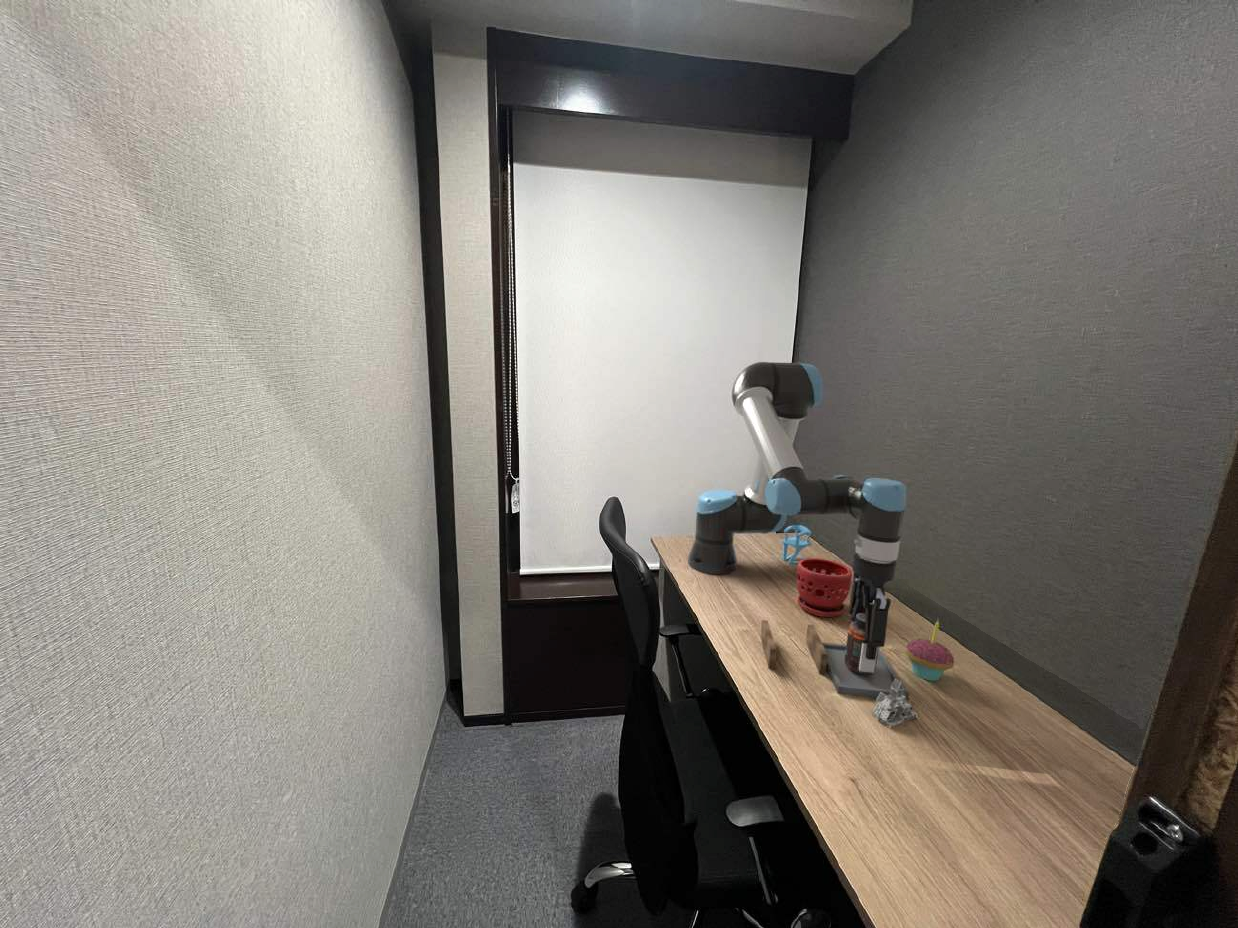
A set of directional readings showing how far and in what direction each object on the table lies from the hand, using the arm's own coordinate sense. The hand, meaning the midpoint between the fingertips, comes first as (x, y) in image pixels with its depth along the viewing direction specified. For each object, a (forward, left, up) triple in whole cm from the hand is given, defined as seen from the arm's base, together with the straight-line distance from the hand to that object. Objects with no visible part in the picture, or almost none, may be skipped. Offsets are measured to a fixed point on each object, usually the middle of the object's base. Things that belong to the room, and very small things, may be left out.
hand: (860, 660), depth 104 cm
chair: (-60, -1, -3) cm, 60 cm away
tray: (0, 0, -3) cm, 3 cm away
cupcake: (-2, +14, -3) cm, 15 cm away
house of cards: (+11, +1, -3) cm, 11 cm away
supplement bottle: (0, 0, -2) cm, 2 cm away
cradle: (-4, -13, -3) cm, 14 cm away
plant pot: (-28, -1, -3) cm, 28 cm away
